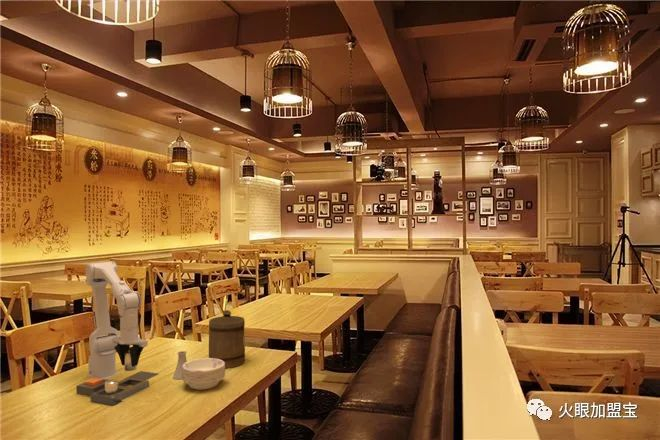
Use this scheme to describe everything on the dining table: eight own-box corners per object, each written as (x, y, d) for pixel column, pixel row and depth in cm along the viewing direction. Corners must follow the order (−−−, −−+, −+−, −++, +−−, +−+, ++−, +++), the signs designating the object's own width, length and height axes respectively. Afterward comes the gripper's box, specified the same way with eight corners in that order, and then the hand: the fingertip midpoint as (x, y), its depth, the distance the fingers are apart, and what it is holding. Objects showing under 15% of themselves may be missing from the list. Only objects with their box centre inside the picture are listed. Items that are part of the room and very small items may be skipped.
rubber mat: (123, 380, 170) (123, 378, 170) (141, 372, 178) (141, 371, 178) (142, 383, 167) (142, 381, 167) (159, 375, 175) (159, 373, 175)
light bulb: (102, 400, 152) (102, 382, 152) (111, 396, 156) (111, 378, 156) (111, 402, 150) (111, 384, 150) (120, 397, 154) (120, 380, 154)
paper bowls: (233, 381, 169) (233, 360, 169) (206, 396, 155) (206, 373, 155) (201, 375, 175) (201, 354, 175) (172, 389, 161) (172, 367, 161)
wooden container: (252, 360, 192) (251, 309, 191) (226, 371, 179) (226, 316, 179) (227, 355, 200) (226, 305, 199) (201, 364, 187) (200, 312, 187)
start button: (86, 390, 159) (85, 381, 159) (95, 386, 162) (95, 377, 162) (94, 391, 157) (94, 382, 157) (103, 387, 161) (103, 379, 161)
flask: (186, 382, 168) (185, 355, 168) (168, 381, 169) (168, 354, 169) (195, 375, 175) (195, 349, 175) (178, 374, 176) (178, 348, 176)
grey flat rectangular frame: (90, 401, 151) (90, 394, 151) (127, 384, 166) (127, 377, 166) (113, 405, 148) (113, 398, 148) (149, 387, 163) (149, 381, 162)
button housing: (76, 394, 157) (76, 385, 157) (95, 385, 165) (95, 377, 165) (93, 397, 155) (93, 388, 155) (112, 388, 162) (112, 380, 162)
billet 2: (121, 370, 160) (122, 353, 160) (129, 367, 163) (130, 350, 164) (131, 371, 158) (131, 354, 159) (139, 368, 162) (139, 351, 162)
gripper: (104, 328, 159) (105, 366, 159) (136, 331, 154) (137, 371, 154) (120, 323, 166) (120, 360, 166) (151, 326, 161) (152, 364, 161)
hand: (129, 365), depth 161 cm, fingers closed on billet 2, 4 cm apart
